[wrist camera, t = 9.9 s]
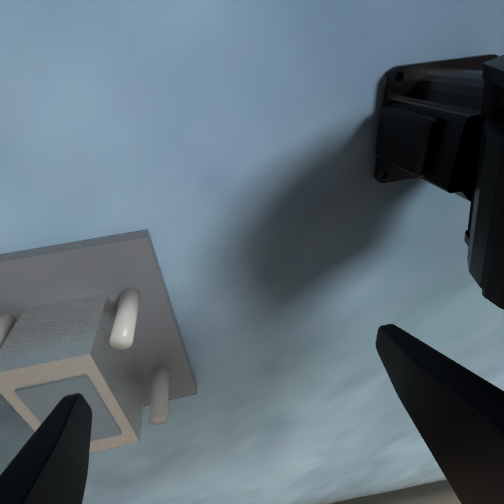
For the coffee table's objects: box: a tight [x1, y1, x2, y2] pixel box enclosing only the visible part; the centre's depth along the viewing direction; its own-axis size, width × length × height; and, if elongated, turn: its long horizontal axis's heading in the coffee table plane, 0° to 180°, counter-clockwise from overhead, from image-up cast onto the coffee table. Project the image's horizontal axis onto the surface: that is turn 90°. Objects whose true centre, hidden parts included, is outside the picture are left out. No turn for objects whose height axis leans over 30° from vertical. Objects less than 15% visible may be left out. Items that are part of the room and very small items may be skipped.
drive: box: [0, 292, 146, 454], centre depth 20 cm, size 5×9×5 cm, turn 5°
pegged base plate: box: [0, 229, 197, 424], centre depth 21 cm, size 12×16×5 cm
